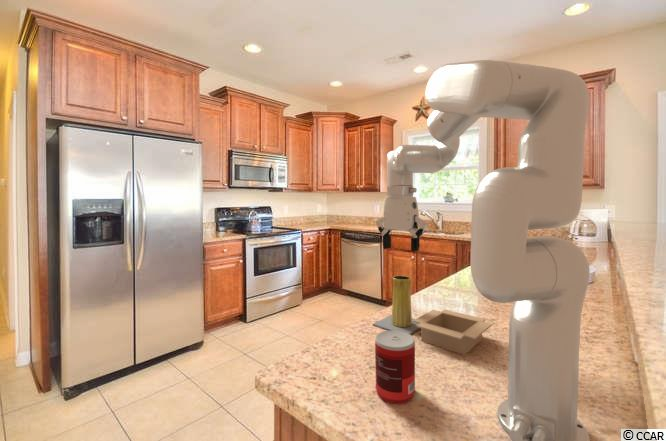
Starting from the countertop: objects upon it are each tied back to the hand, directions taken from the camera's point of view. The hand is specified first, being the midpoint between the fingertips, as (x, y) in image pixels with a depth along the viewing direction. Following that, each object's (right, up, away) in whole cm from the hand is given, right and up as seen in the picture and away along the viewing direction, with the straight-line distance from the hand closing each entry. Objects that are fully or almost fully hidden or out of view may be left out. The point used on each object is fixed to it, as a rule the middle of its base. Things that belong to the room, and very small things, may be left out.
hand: (400, 249), depth 95 cm
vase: (+1, -23, +1) cm, 23 cm away
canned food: (-8, -26, -32) cm, 42 cm away
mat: (0, -23, +2) cm, 23 cm away
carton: (+12, -24, -10) cm, 28 cm away
